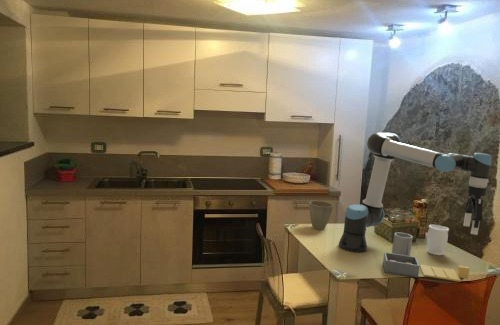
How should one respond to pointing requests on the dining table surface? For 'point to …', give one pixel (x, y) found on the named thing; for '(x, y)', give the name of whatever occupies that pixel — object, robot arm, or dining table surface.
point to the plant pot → (320, 214)
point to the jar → (437, 239)
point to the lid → (445, 272)
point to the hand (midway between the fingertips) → (470, 230)
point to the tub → (401, 265)
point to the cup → (402, 244)
